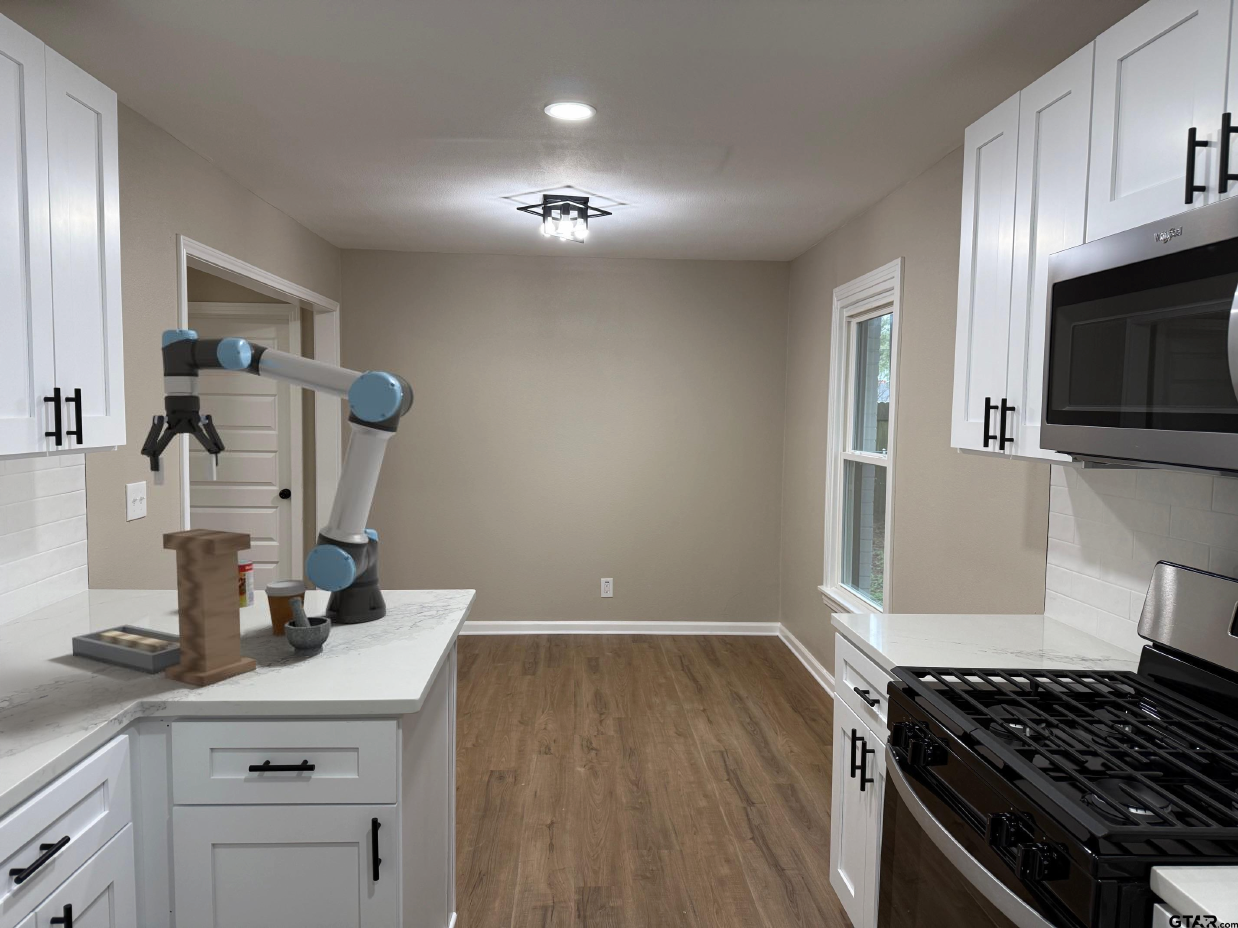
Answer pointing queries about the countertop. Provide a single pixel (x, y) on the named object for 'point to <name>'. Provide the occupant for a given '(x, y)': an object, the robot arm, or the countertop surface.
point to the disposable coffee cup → (283, 601)
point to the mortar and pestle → (306, 630)
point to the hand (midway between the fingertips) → (186, 482)
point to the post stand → (208, 605)
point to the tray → (128, 650)
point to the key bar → (136, 641)
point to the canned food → (245, 582)
